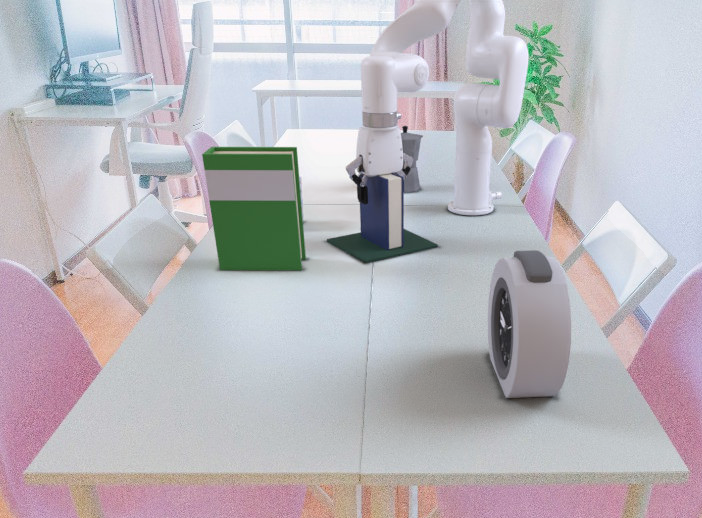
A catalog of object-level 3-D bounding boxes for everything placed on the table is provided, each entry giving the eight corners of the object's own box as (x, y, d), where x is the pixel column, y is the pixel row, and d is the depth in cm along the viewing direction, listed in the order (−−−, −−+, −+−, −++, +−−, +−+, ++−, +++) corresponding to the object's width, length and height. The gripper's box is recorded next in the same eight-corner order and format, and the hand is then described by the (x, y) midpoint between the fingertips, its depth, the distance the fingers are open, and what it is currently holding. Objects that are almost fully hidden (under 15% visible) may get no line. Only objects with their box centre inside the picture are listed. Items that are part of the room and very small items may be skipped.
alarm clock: (485, 345, 114) (493, 232, 103) (527, 343, 114) (540, 231, 104) (511, 413, 96) (525, 284, 85) (562, 410, 96) (581, 282, 86)
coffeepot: (411, 182, 208) (412, 121, 198) (431, 188, 202) (432, 125, 192) (372, 190, 200) (371, 126, 190) (391, 197, 194) (391, 131, 184)
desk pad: (396, 227, 169) (396, 225, 169) (437, 246, 157) (437, 244, 156) (326, 241, 160) (326, 239, 159) (365, 263, 147) (365, 260, 147)
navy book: (376, 233, 163) (375, 166, 155) (403, 246, 155) (403, 176, 146) (360, 236, 161) (358, 168, 153) (387, 250, 153) (386, 179, 144)
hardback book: (305, 258, 150) (296, 147, 137) (301, 270, 143) (291, 154, 131) (227, 258, 150) (211, 146, 137) (220, 270, 143) (202, 154, 131)
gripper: (403, 114, 150) (403, 190, 159) (336, 121, 142) (340, 201, 151) (422, 119, 145) (421, 197, 154) (354, 127, 137) (357, 209, 146)
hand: (381, 199), depth 153 cm, fingers open, 9 cm apart
